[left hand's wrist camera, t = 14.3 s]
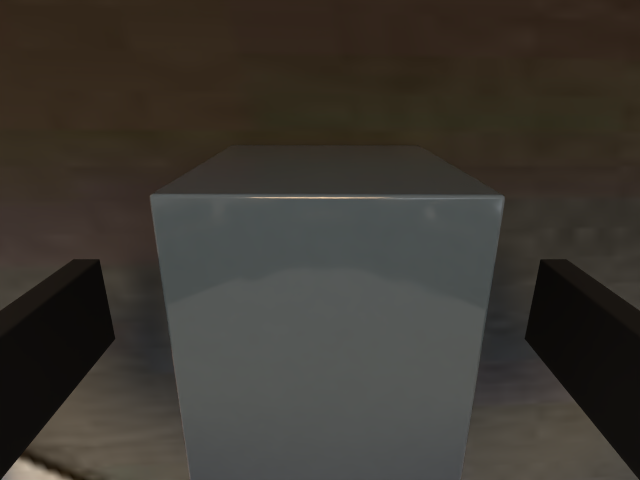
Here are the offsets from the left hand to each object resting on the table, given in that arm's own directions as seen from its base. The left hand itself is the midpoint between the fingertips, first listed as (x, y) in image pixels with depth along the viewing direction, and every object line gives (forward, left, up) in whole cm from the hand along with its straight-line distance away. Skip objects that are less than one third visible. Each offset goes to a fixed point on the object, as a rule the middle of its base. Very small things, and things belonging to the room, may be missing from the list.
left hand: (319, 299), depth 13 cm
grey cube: (0, 0, -4) cm, 4 cm away
